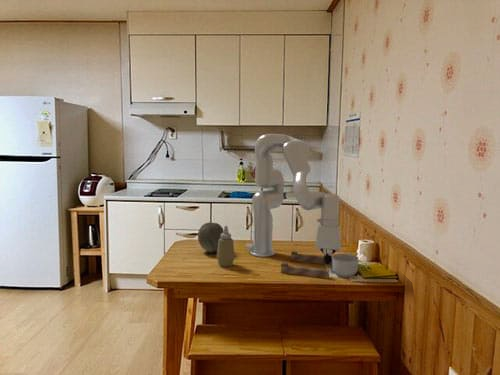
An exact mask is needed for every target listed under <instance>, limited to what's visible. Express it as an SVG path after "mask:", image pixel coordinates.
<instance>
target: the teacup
mask: <svg viewBox="0 0 500 375" xmlns="http://www.w3.org/2000/svg"><path fill="white" fill-rule="evenodd" d="M331 266H332V270H333V272H334V273H335V274H336V275H337V276H339V277H341V278H351V277H354V275H355V274H357V272H358V270H359V257H358V256H357V255H355V254H350V253H347V252H344V253H338V254H334V255H333V254H332V265H331Z"/></svg>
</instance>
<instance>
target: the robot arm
mask: <svg viewBox="0 0 500 375" xmlns="http://www.w3.org/2000/svg"><path fill="white" fill-rule="evenodd" d="M271 152H275V153H278V152H282V155H283V156H284V159H285V161H286V162H287V164H288V167H289V169H290V172H291V174H292V177H293V178H292V190H293V193H294V196H295V198H296V200H297V203H298V205H300V207H301V208H302V209H303V210H305V211H314V210H318V209H320V218H317V221H316V222H318V223H319V224H318V226H317V232H316V241H315V249H316V250H317V251H321V253H322V254H323V255H324V262H325V264H324V265H327V264H328V265H329V264H330V262H331V259H332V256H333V254H334V255H335V253H341V250H342V249H341V244H342V243H341V240H342V238H341V228H340V225H339V215H340V214H339V213H340V196H339V195H338V194H335V193H327V192H322V191H312V192H310V189H309V187H308V185H307V176H308V174H309V173H310V172H311V170H312V169H311V166H310V164H309V161H308V160H307V157H308V156H309V153H310V146H309V145H308V144H307V142H305V140H302V139H299V138H295V137H293V136H291V135H288V134H283V133H282V134H281V133H265V134H262V135H260V136H259V137H258V138H257V140H256V141H255V145H254V154H255V165H254V170H255V171H254V172H255V173H254V178H255V179H254V180H255V185H256V186H257V187H258V188H260V189H267V190H261V191H257V192H256V193H255V194H253V196H252V198H251V205H252V211H253V212H252V214H253V231H252V232H253V236H252V237H253V239H252V240H253V243H245V248H246V249H250V250H249V254H250V255H252V256H254V257H261V258H262V257H263V258H264V257H266V258H267V257H273V256H275V254H276V250H275V249H273V229H274V228H273V227H274V226H273V225H274V224H273V222H274V221H273V220H274V219H273V215H272V212H271V210H273V209H274V210H275V209H278V208H280V207H281V206H282V205H283V202H284V189H285V188H284V185H285V182H284V181H285V180H284V174H283V172H282V171H281V170H280V169H278V168H274V167H273V165H274V161H273V156H272V154H271ZM328 250H329V252H328ZM329 266H330V265H329Z"/></svg>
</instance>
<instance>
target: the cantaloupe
mask: <svg viewBox="0 0 500 375" xmlns="http://www.w3.org/2000/svg"><path fill="white" fill-rule="evenodd" d="M223 231H224V228H223V226H222V225H221V224H219V223H217V222H211V221H210V222H205V223H203V224H202V225H201V226H200V228H199V229H198V232H197V241H198V243H199V245H200V247H201V248H202V249H204V250H205V251H206V252H208V253H211V254H214V253H217V250H218V241H219V239H220V238H221V234H222V233H223Z"/></svg>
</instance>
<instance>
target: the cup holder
mask: <svg viewBox="0 0 500 375" xmlns="http://www.w3.org/2000/svg"><path fill="white" fill-rule="evenodd" d="M290 261H295V262H303V263H311V264H320V265H328V264H325V262H324V256H321V255H314V254H304V253H298V251H291V254H290ZM329 266H332V259H331V262H330V264H329ZM280 273H281V274H289V275H297V276H305V277H312V278H318V279H319V278H320V279H329V276H330V275H329V274H330V270H328V269H323V268H322V269H321V268H314V267H306V266H300V265H299V266H298V265H297V266H296V265H289V264H288V262H282V263H281V264H280Z"/></svg>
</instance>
